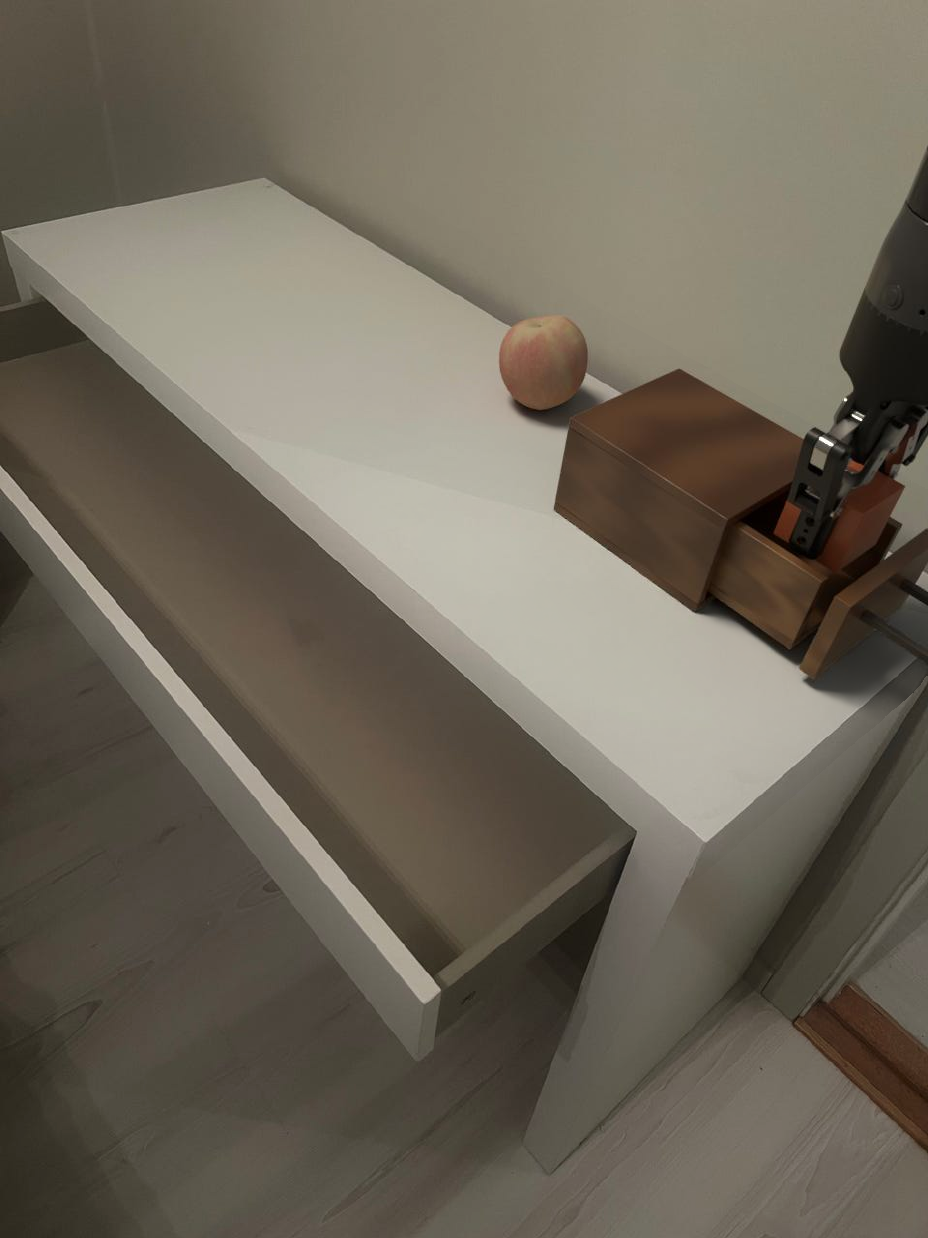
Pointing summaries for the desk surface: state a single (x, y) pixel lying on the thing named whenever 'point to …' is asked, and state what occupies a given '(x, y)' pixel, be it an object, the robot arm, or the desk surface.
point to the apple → (543, 361)
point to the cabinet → (672, 477)
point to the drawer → (818, 588)
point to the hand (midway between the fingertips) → (827, 534)
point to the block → (852, 520)
